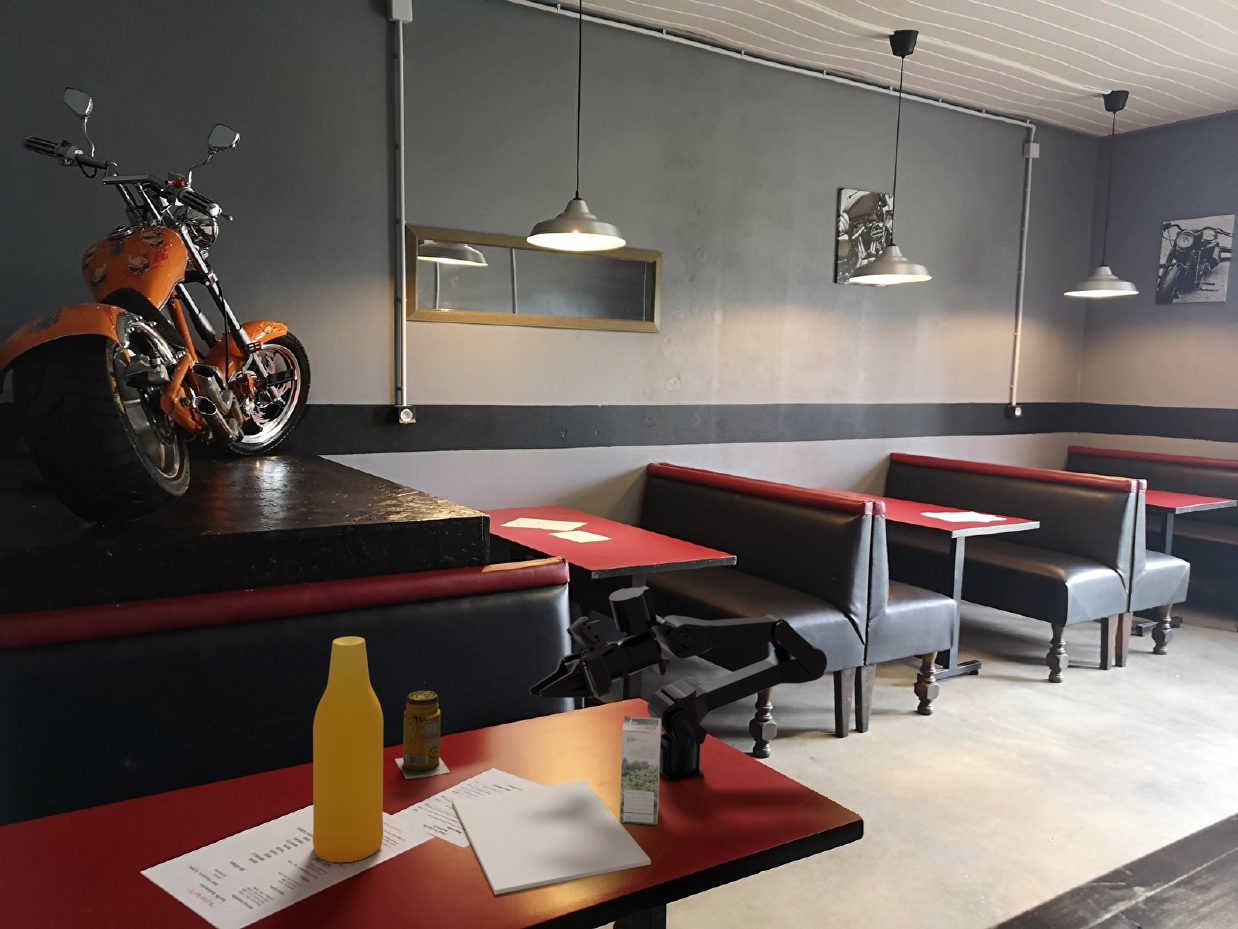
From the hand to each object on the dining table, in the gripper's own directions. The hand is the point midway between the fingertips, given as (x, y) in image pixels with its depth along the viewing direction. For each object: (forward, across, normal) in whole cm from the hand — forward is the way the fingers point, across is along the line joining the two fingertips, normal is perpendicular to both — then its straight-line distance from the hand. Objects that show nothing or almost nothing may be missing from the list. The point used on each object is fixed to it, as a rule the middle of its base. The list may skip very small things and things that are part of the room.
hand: (535, 693), depth 139 cm
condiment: (+19, -18, +6) cm, 27 cm away
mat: (+6, +8, +18) cm, 21 cm away
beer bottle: (+32, +6, +10) cm, 34 cm away
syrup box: (-8, +6, +22) cm, 24 cm away
